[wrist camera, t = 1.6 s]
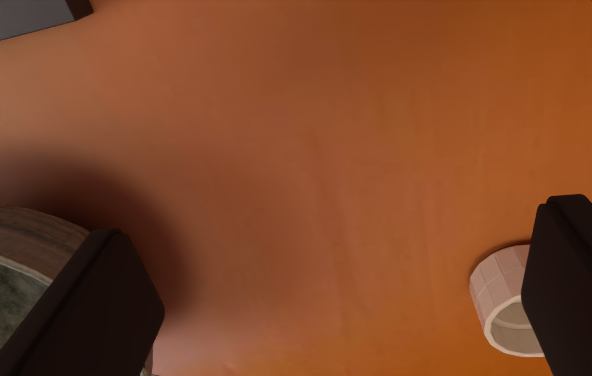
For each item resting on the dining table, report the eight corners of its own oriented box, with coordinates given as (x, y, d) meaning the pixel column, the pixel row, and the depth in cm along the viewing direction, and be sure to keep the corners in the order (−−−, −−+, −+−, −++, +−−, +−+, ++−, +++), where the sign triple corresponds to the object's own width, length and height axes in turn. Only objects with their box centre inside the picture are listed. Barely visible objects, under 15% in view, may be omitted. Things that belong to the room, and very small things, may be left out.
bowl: (-82, 266, 36) (-207, 373, 28) (-38, 86, 26) (-217, 171, 17) (133, 364, 42) (83, 476, 34) (242, 249, 31) (207, 371, 23)
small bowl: (453, 260, 30) (469, 310, 26) (552, 225, 28) (585, 275, 24) (486, 314, 33) (504, 366, 29) (578, 287, 30) (610, 340, 27)
